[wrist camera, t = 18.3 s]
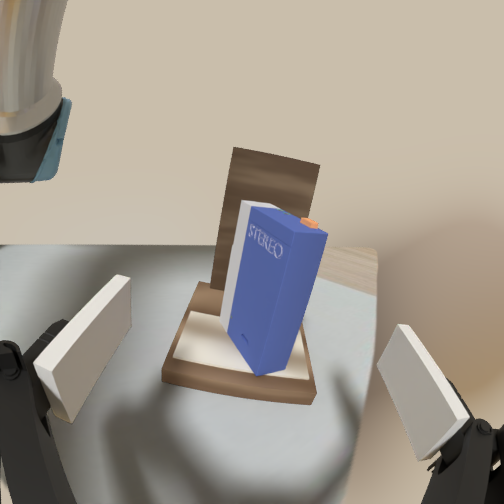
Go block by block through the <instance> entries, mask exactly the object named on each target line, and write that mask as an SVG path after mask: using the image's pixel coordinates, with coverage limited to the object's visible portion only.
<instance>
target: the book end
mask: <svg viewBox="0 0 504 504" xmlns="http://www.w3.org/2000/svg"><path fill="white" fill-rule="evenodd" d="M319 168H320V165H318V164H314V163H310V162H305V161H301V160H297V159H293V158H288V157H284V156H279V155H274V154H268V153H264V152H259V151H254V150H249V149H243V148H236V147H233V153H232V158H231V163H230V169H229V174H228V179H227V185H226V190H225V197H224V202H223V208H222V213H221V220H220V225H219V232H218V237H217V244H216V250H215V256H214V263H213V269H212V276H211V283H205V282H200V281H199V283H198V285H197V287H196V289H195V292H194V294H193V296H192V298H191V301H190V303H189V305H188V307H187V310H186V312H185V314H184V317H183V319H182V321H181V324H180V326H179V328H178V331H177V333H176V335H175V338H174V340H173V342H172V345H171V347H170V350H169V352H168V354H167V357H166V359H165V362H164V364H163V366H162V382H166V383H170V384H175V385H179V386H183V387H188V388H192V389H197V390H202V391H207V392H212V393H217V394H223V395H229V396H235V397H241V398H248V399H255V400H263V401H271V402H280V403H291V404H303V405H311V404H312V402H313V400H314V398H315V396H316V394H317V391H316V386H315V381H314V376H313V372H312V367H311V362H310V357H309V352H308V348H307V343H306V338H305V334H304V329H303V324H302V323H301V326H300V329H299V332H298V335H297V337H296V340H295V343H294V346H293V349H292V352H291V355H290V357H289V360H288V363H287V366H286V369H285V370H281V371H277V372H273V373H269V374H265V375H260V376H255V374H254V373H253V371H252V370H251V368H250V367H249V365H248V364H247V362H246V361H245V359H244V358H243V356H242V355H241V353H240V352H239V350H238V349H237V347H236V346H235V344H234V343H233V341H232V340H231V338H230V337H229V335H228V334H227V332H226V331H225V329H224V328H223V326H222V324H221V323H220V321H219V320H220V314H221V308H222V302H223V296H224V290H225V284H226V278H227V273H228V267H229V261H230V256H231V250H232V245H233V244H234V238H235V233H236V227H237V222H238V216H239V211H240V206H241V200H245V201H255V202H261V203H270V204H272V205H274V206H276V207H278V208H280V209H282V210H284V211H286V212H288V213H290V214H292V215H294V216H296V217H298V218H300V219H301V218H308V215H309V211H310V207H311V203H312V199H313V195H314V190H315V186H316V182H317V177H318V173H319Z"/></svg>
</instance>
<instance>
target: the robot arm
mask: <svg viewBox="0 0 504 504" xmlns="http://www.w3.org/2000/svg"><path fill="white" fill-rule="evenodd" d="M67 1H68V0H0V183H20V182H30V183H34V182H35V181H43V180H50V179H52V178H53V177H54V176H55V174H56V173H57V170H58V166H59V161H60V156H61V151H62V145H63V140H64V135H65V132H66V127H67V123H68V119H69V115H70V110H71V105H72V102H71V100H70V99H66V98H65V97H64V98H62V88H61V85H60V84H59V82H58V81H57V80H56V79H55V78H53V69H54V62H55V55H56V49H57V44H58V38H59V34H60V29H61V24H62V20H63V15H64V12H65V8H66V5H67ZM130 328H131V278H129V277H125V276H121V275H117V274H116V275H115V276H114V277H113V278H112V279H111V280H110V281H109V282H108V283H107V284H106V285H105V286H104V287H103V288H102V289H101V290H100V291H99V292H98V293H97V294H96V295H95V296H94V297H93V298H92V299H91V300H90V301H89V302H88V303H87V304H86V305H85V306H84V307H83V308H82V309H81V310H80V311H79V312H78V313H77V314H76V316H75V317H74V318H73V319H72V320H71V321H70V322H69V321H66V320H64V319H62V320H60V321H58V322H56V323H54V324H52V325H51V326H50V327H49V328H48V329H47V330H46V331H45V333H43V334H42V335H41V336H40V337H39V339H37V340H36V341H35V343H34V344H33V345H32V346H31V347H30V348H29V349H28V350H27V351H26V352H25V353H24V354H23V356H22V354H21V351H20V348H19V346H18V345H17V344H16V343H14V342H12V341H6V340H3V341H0V466H1V456H2V462H3V467H4V471H5V476H6V480H7V484H8V488H9V492H10V496H11V499H12V502H13V504H77V503H76V500H75V498H74V496H73V493H72V491H71V488H70V486H69V483H68V481H67V478H66V475H65V473H64V470H63V467H62V464H61V461H60V458H59V455H58V452H57V448H56V445H55V442H54V438H53V434H52V431H51V427H50V423H49V419H48V416H47V414H46V413H47V411H48V410H49V408H50V407H51V409H52V411H53V413H54V415H55V416H56V417H58V418H60V419H62V420H64V421H66V422H69V423H71V424H72V423H73V421H74V419H75V418H76V416H77V414H78V412H79V411H80V409H81V407H82V405H83V404H84V402H85V400H86V398H87V397H88V395H89V393H90V392H91V390H92V388H93V387H94V385H95V383H96V382H97V380H98V378H99V377H100V375H101V373H102V372H103V370H104V368H105V367H106V365H107V364H108V362H109V360H110V359H111V357H112V356H113V354H114V352H115V351H116V349H117V348H118V346H119V345H120V343H121V341H122V340H123V338H124V337H125V335H126V334H127V332H128V331H129V329H130ZM377 366H378V369H379V371H380V373H381V375H382V377H383V379H384V382H385V384H386V386H387V388H388V391H389V393H390V395H391V397H392V400H393V402H394V404H395V406H396V409H397V411H398V413H399V416H400V418H401V421H402V423H403V425H404V428H405V430H406V433H407V435H408V437H409V440H410V443H411V445H412V447H413V450H414V453H415V455H416V458H417V461H423V460H427V459H431V458H432V457H433V456H434V455H435V454H436V453H437V452H438V451H439V450H440V452H441V456H440V457H439V458H438V459H437V460H436V461H435V462H434V463H433V464H431V465H430V466H429V467H428V469H427V470H428V471H429V470H430V469H431V468H432V467H434V466H435V468H434V470H433V471H432V473H433V474H432V477H431V479H430V482H429V485H428V487H427V490H426V493H425V495H424V497H423V500H422V503H421V504H504V425H503V426H502V427H501V428H500V429H492V427H491V425H490V424H489V423H488V422H487V421H485V420H483V419H476V420H475V418H474V417H473V415H472V413H471V412H470V410H469V409H468V407H467V405H466V404H465V402H464V400H463V399H461V396H460V394H459V393H457V389H456V388H455V386H454V385H453V383H451V381H449V380H448V379H447V378H446V377H445V376H444V375H443V373H442V372H441V370H440V369H439V367H438V366H437V364H436V363H435V361H434V360H433V358H432V357H431V356H430V354H429V353H428V351H427V350H426V348H425V347H424V346H423V344H422V343H421V341H420V340H419V339H418V337H417V336H416V334H415V333H414V332H413V330H412V329H411V328H410V326H409V325H403V324H397V326H396V328H395V330H394V332H393V334H392V336H391V339H390V340H389V342H388V344H387V346H386V348H385V350H384V352H383V354H382V356H381V358H380V360H379V362H378V364H377ZM499 460H500V462H501V465H500V466H499V467H498V468H496V469H495V470H494V471H493V466H494V465H495V464H496V463H497V462H498V461H499ZM0 504H1V491H0Z"/></svg>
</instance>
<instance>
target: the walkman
mask: <svg viewBox="0 0 504 504" xmlns="http://www.w3.org/2000/svg"><path fill="white" fill-rule="evenodd" d="M327 236H328V233H326V232H324V231H322V230H320V229H319V228H318V223H317V222H315V221H313V220H311V219H309V218H301V219H300V218H298V217H296V216H294V215H292V214H290V213H288V212H286V211H284V210H282V209H280V208H278V207H276V206H274V205H272V204H270V203H261V202H255V201H245V200H241V206H240V211H239V216H238V222H237V227H236V233H235V238H234V244H233V245H232V250H231V256H230V261H229V267H228V273H227V278H226V284H225V290H224V296H223V302H222V308H221V314H220V320H219V321H220V323H221V324H222V326H223V328H224V329H225V331H226V332H227V334H228V335H229V337H230V338H231V340H232V341H233V343H234V344H235V346H236V347H237V349H238V350H239V352H240V353H241V355H242V356H243V358H244V359H245V361H246V362H247V364H248V365H249V367H250V368H251V370H252V371H253V373H254V374H255V376H260V375H265V374H269V373H273V372H277V371H281V370H285V369H286V366H287V363H288V360H289V357H290V355H291V352H292V349H293V346H294V343H295V340H296V337H297V335H298V332H299V329H300V326H301V323H302V320H303V317H304V313H305V310H306V307H307V304H308V301H309V298H310V295H311V291H312V288H313V285H314V282H315V278H316V275H317V272H318V268H319V265H320V261H321V258H322V254H323V251H324V247H325V244H326V240H327Z"/></svg>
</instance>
